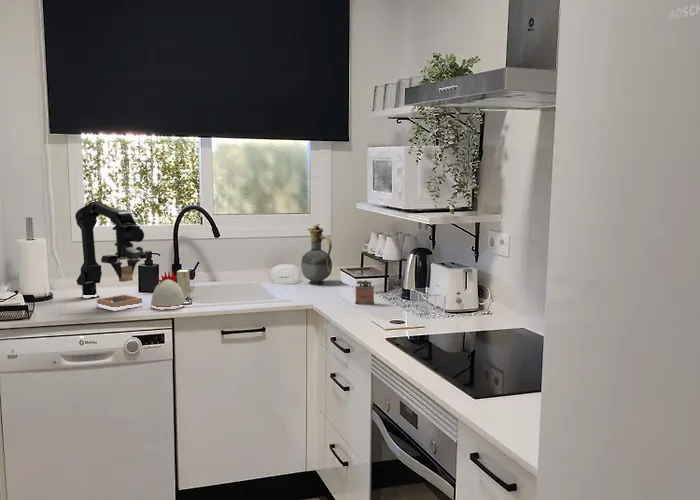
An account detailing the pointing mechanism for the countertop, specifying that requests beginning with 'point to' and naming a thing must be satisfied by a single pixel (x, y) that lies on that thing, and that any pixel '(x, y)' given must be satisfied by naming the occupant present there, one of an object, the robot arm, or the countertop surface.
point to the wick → (126, 274)
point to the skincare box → (184, 281)
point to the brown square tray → (119, 300)
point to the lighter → (364, 293)
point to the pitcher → (317, 258)
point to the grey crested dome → (167, 292)
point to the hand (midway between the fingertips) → (125, 277)
